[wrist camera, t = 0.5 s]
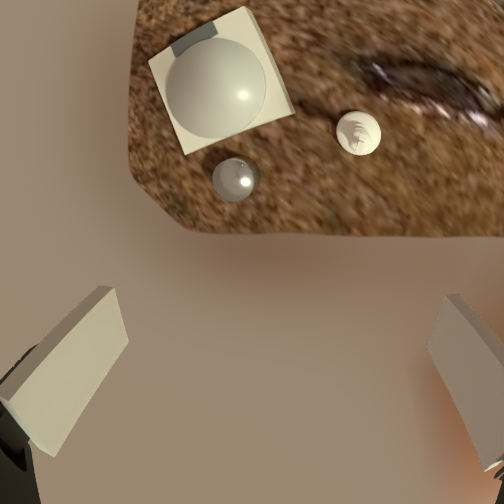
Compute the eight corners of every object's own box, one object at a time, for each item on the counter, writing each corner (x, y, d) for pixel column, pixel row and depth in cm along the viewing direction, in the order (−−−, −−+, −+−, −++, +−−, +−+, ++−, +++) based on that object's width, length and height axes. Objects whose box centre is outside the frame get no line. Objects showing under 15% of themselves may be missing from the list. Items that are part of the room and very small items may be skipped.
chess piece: (331, 146, 29) (321, 163, 21) (342, 105, 26) (337, 104, 18) (373, 161, 28) (380, 184, 20) (385, 120, 25) (399, 126, 17)
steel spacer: (217, 162, 35) (206, 167, 32) (252, 149, 32) (242, 154, 30) (231, 197, 37) (221, 205, 34) (266, 187, 34) (258, 195, 32)
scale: (158, 61, 30) (143, 60, 27) (251, 11, 23) (241, 4, 21) (194, 151, 35) (181, 156, 32) (295, 113, 28) (289, 113, 26)
